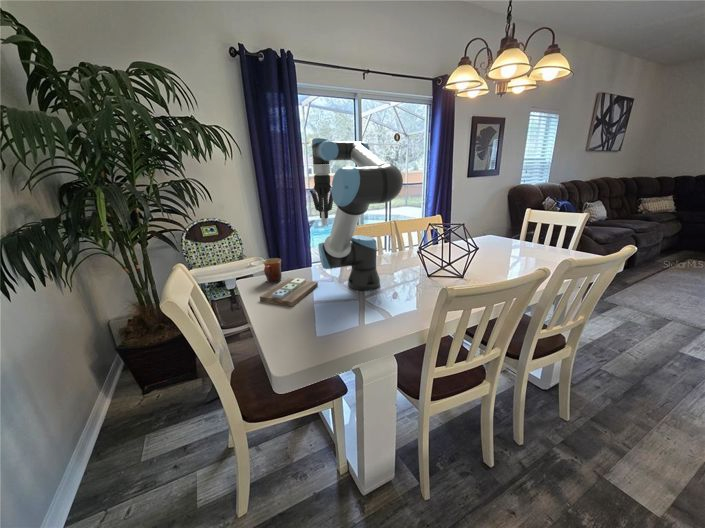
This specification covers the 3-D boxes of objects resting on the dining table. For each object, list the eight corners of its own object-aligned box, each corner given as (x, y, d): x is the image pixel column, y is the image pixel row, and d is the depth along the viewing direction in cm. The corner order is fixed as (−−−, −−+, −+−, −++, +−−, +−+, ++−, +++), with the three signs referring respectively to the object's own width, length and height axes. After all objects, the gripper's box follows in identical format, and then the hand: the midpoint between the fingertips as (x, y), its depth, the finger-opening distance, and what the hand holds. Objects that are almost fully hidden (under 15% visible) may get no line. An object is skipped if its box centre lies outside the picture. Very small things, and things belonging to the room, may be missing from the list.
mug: (270, 276, 149) (268, 257, 145) (286, 277, 147) (284, 258, 144) (258, 285, 137) (256, 265, 134) (275, 286, 136) (273, 266, 132)
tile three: (289, 297, 124) (289, 290, 123) (283, 302, 119) (282, 294, 118) (280, 295, 126) (279, 288, 124) (273, 300, 121) (272, 293, 120)
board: (317, 286, 136) (317, 282, 135) (292, 306, 116) (292, 302, 116) (288, 281, 141) (288, 278, 140) (260, 300, 122) (259, 296, 121)
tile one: (306, 285, 136) (305, 278, 135) (300, 289, 132) (300, 282, 131) (296, 284, 138) (296, 277, 137) (291, 288, 133) (290, 281, 132)
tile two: (298, 291, 130) (297, 284, 129) (292, 295, 126) (291, 288, 124) (288, 289, 132) (288, 282, 131) (282, 294, 127) (281, 287, 126)
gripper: (338, 174, 133) (339, 224, 141) (313, 174, 138) (316, 223, 146) (331, 174, 127) (333, 227, 134) (305, 175, 131) (308, 225, 139)
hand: (324, 225), depth 140 cm, fingers closed
